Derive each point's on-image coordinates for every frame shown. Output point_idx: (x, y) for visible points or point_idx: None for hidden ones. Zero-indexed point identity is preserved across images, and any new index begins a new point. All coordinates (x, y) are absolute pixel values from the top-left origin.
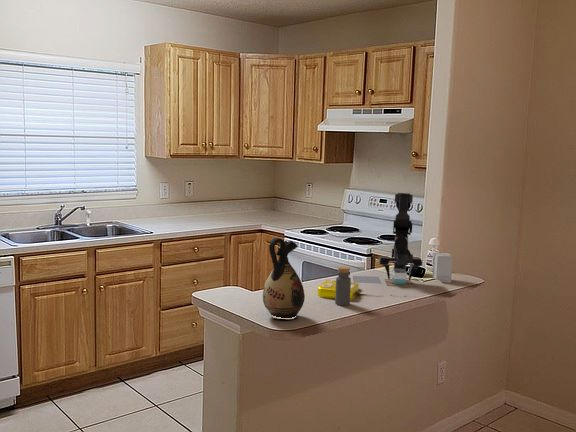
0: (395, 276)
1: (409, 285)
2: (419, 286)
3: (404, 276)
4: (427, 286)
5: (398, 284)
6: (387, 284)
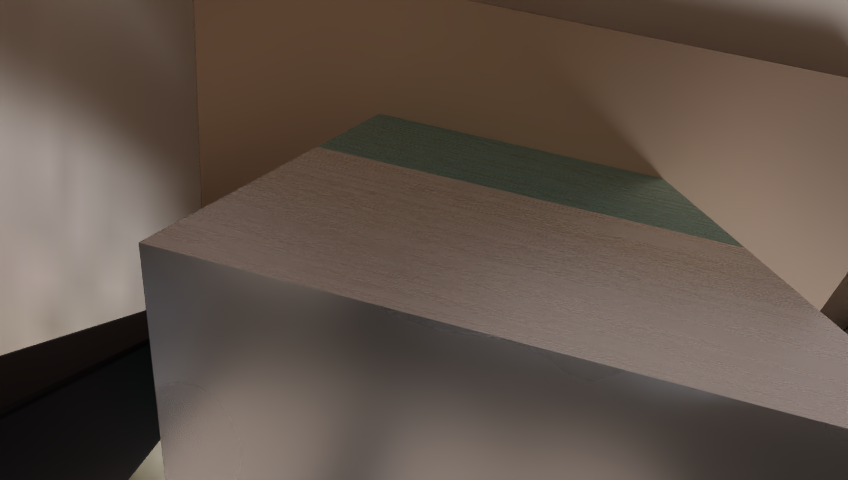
0: (786, 291)
1: (294, 95)
2: (121, 228)
3: (351, 197)
4: (3, 214)
5: (564, 158)
6: (838, 242)
